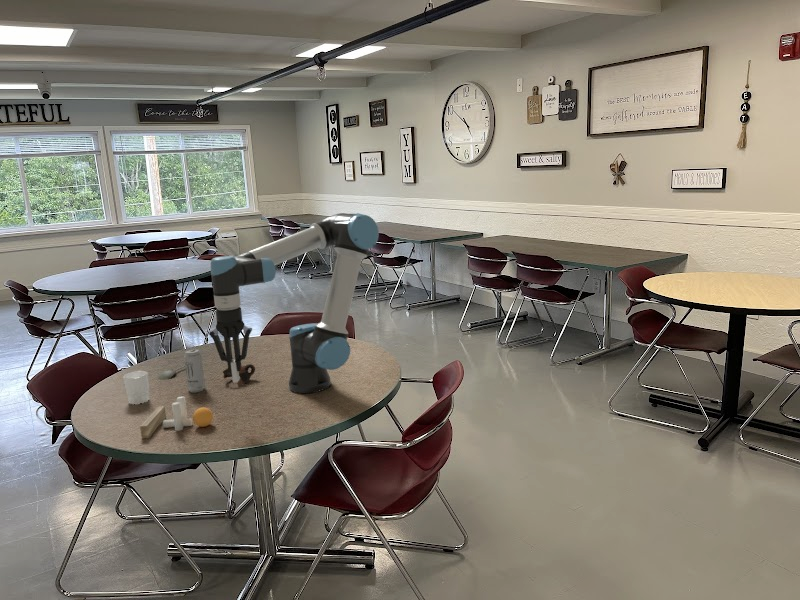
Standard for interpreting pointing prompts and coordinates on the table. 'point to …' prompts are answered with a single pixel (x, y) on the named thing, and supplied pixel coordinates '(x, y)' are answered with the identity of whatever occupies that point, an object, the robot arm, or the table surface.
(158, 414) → the back wall
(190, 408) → the table surface
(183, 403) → the pin
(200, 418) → the ball
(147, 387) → the white cup
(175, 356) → the table surface
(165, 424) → the front pin
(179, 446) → the table surface
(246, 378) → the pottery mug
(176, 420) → the pin
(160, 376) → the soupspoon
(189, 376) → the energy drink can
